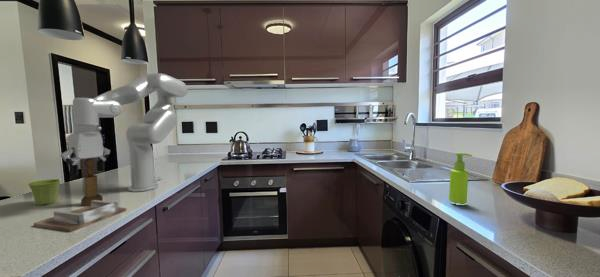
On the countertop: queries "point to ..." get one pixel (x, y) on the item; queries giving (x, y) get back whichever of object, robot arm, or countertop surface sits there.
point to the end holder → (81, 216)
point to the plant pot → (45, 191)
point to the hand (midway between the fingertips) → (88, 172)
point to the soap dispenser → (459, 181)
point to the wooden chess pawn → (90, 185)
